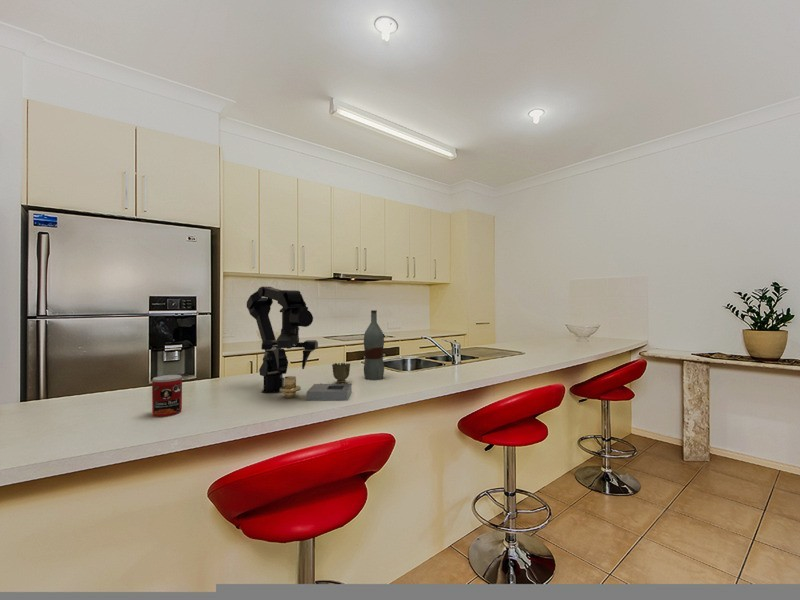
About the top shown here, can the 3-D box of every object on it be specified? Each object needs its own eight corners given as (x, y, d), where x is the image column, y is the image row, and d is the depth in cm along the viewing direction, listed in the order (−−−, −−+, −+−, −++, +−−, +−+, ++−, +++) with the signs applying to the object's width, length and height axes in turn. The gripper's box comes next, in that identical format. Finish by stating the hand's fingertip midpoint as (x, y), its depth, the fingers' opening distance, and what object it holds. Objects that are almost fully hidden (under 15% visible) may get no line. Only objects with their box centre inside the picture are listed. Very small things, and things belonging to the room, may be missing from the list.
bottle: (362, 376, 169) (362, 310, 169) (381, 375, 171) (381, 310, 171) (365, 380, 160) (365, 310, 160) (386, 379, 162) (386, 310, 162)
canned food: (150, 418, 108) (150, 380, 108) (153, 411, 115) (154, 376, 115) (181, 415, 112) (181, 378, 112) (182, 408, 119) (182, 373, 119)
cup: (348, 385, 151) (348, 365, 151) (330, 385, 152) (330, 365, 152) (351, 381, 159) (351, 362, 159) (334, 381, 159) (334, 362, 159)
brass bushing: (276, 399, 129) (276, 379, 129) (283, 394, 137) (283, 375, 137) (297, 399, 130) (297, 379, 130) (302, 394, 137) (302, 375, 137)
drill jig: (306, 400, 128) (306, 391, 128) (314, 391, 140) (314, 383, 140) (347, 400, 128) (347, 391, 128) (351, 391, 140) (351, 383, 140)
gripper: (255, 327, 125) (255, 373, 125) (311, 327, 125) (311, 373, 125) (267, 324, 136) (266, 367, 136) (318, 324, 136) (318, 367, 136)
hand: (290, 369), depth 133 cm, fingers open, 9 cm apart
